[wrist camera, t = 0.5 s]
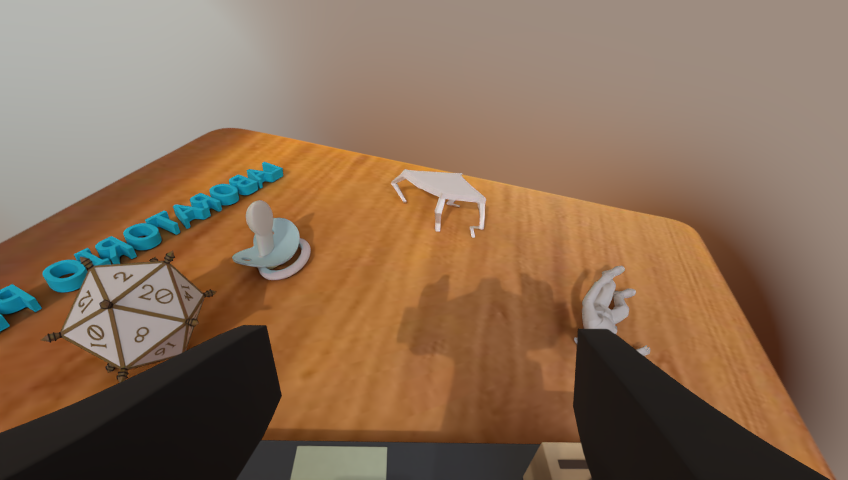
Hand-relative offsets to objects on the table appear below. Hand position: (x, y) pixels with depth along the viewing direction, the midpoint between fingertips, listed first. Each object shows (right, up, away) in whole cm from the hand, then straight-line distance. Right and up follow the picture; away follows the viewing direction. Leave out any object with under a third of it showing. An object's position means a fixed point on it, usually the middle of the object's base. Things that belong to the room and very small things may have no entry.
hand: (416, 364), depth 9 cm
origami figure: (+1, +6, +40) cm, 40 cm away
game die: (-20, -5, +21) cm, 29 cm away
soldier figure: (+16, -5, +27) cm, 32 cm away
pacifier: (-14, +1, +30) cm, 33 cm away
